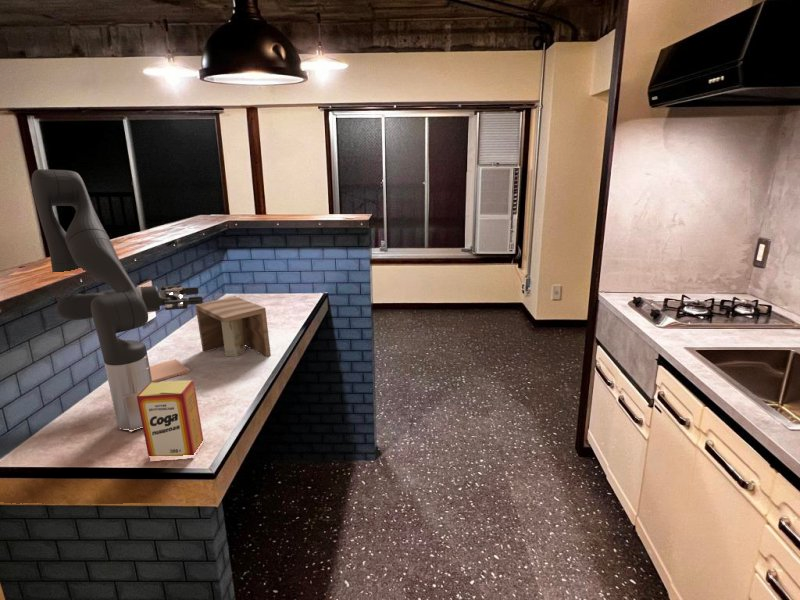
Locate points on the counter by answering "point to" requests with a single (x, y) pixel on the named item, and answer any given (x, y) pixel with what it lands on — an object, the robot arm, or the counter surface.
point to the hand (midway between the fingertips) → (200, 294)
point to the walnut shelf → (229, 311)
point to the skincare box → (233, 337)
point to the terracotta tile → (167, 370)
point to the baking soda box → (170, 418)
